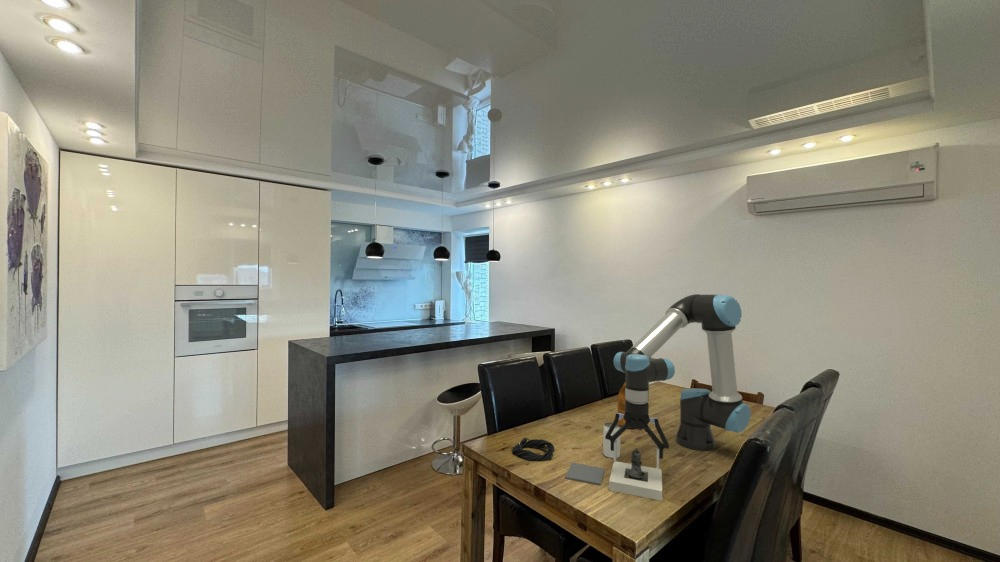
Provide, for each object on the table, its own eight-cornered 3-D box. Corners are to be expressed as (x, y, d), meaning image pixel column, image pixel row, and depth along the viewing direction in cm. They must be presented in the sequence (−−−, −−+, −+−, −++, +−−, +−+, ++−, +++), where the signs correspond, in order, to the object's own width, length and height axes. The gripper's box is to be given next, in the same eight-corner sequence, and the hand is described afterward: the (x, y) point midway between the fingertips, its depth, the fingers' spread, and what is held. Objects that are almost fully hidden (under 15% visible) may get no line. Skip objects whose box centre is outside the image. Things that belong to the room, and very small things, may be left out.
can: (617, 460, 148) (617, 428, 149) (601, 456, 152) (601, 425, 152) (622, 454, 154) (622, 424, 154) (605, 450, 157) (606, 420, 158)
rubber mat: (604, 470, 140) (604, 468, 140) (600, 485, 129) (600, 483, 129) (571, 464, 145) (571, 462, 145) (565, 478, 134) (565, 476, 134)
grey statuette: (624, 479, 133) (624, 444, 134) (640, 479, 134) (640, 444, 134) (631, 488, 127) (631, 452, 128) (648, 488, 128) (648, 451, 128)
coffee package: (646, 425, 188) (647, 379, 188) (633, 431, 179) (633, 383, 180) (628, 419, 195) (628, 376, 196) (614, 425, 187) (614, 379, 187)
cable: (561, 456, 152) (561, 445, 152) (537, 467, 142) (538, 455, 143) (529, 443, 165) (529, 433, 165) (505, 452, 155) (505, 441, 155)
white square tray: (661, 477, 135) (661, 469, 135) (662, 500, 120) (662, 491, 120) (613, 469, 141) (614, 460, 141) (609, 490, 126) (609, 481, 126)
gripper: (676, 402, 130) (675, 466, 130) (600, 393, 139) (599, 453, 139) (677, 408, 123) (677, 476, 123) (597, 399, 132) (596, 461, 132)
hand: (636, 464), depth 131 cm, fingers open, 13 cm apart
